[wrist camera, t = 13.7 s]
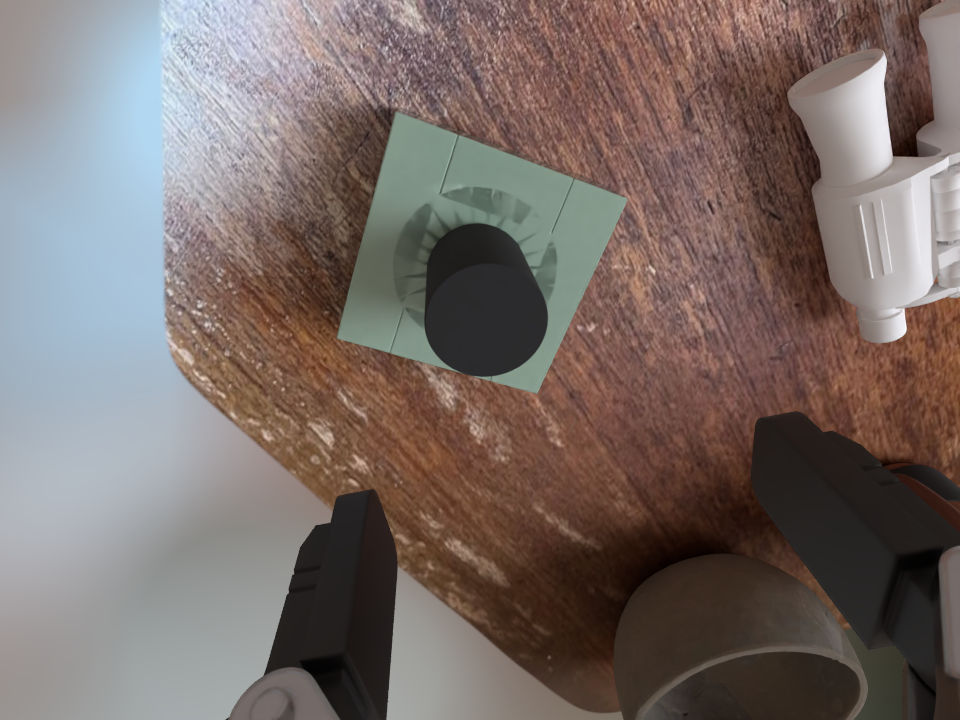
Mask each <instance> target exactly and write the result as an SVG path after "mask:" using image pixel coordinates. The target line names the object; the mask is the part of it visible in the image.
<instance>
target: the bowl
mask: <svg viewBox="0 0 960 720" xmlns="http://www.w3.org/2000/svg"><path fill="white" fill-rule="evenodd" d="M614 675H615V683H616V689H617V694H618V699H619V703H620V708H621V712H622V715H623V719H624V720H853V719H854V718H855V717H856V715H857V714H858V713H859V712H860V710H861V709H862V707H863V705H864V703H865V700H866V697H867V690H868V687H867V681H866V679H865V675H864V672H863V670H862V667H861V664H860V662H859V661H858V658H857V656H856V654H855V652H854V650H853V648H852V646H851V644H850V642H849V640H848V638H847V636H846V634H845V632H844V630H843V629H842V627H841V626H840V625H839V623H838V622H837V621H836V619H835V618H834V616H833V614H832V613H831V612H830V610H829V609H828V608H827V607H826V606H825V604H824V603H823V602H822V601H821V600H820V599H819V598H818V597H817V596H816V594H815V593H814V592H812V591H811V590H810V589H809V588H808V587H806V586H805V585H804V584H802V583H801V582H800V581H799V580H798V579H796V578H795V577H793V576H791V575H789V574H788V573H786V572H784V571H782V570H781V569H779V568H777V567H774V566H772V565H770V564H767V563H765V562H763V561H760V560H757V559H754V558H751V557H747V556H742V555H737V554H710V555H703V556H699V557H694V558H690V559H686V560H683V561H680V562H678V563H675V564H672V565H670V566H668V567H666V568H664V569H662V570H661V571H659V572H657V573H655V574H654V575H652V576H651V577H649V578H648V579H647V580H645V581H644V582H643V583H642V584H641V585H640V586H639V587H638V588H637V589H636V590H635V592H634V593H633V594H632V596H631V597H630V599H629V601H628V602H627V604H626V606H625V609H624V611H623V613H622V615H621V618H620V621H619V624H618V628H617V632H616V637H615V644H614Z"/></svg>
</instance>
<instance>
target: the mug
mask: <svg viewBox="0 0 960 720" xmlns="http://www.w3.org/2000/svg"><path fill="white" fill-rule="evenodd" d="M882 467H886V468H887V469H888V470H890V471H891V472H892V473H893V474H894V475H895V476H896V477H898V478H899V482H900V483H904V484H905V485H907V486H908V487H909V488H910V489H911V490H912V491H913V492H914V493H916V494H917V495H918V496H919V497H920V498H921V499H922V500H923V501H925V502H926V503H927V504H928V505H929V506H930V507H931V508H933V509H934V510H935V511H936V512H937V513H938V514H939V515H940V516H942V517H943V518H944V519H945V520H946V521H947V522H948V523H949V524H951V525H952V526H953V527H954V528H955V529H956V530H957V531H958V532H960V488H959V487H958V486H957V485H955V484H954V483H953V482H952V481H951V480H949V479H948V478H947V477H946V476H944V475H943V474H942V473H940V472H939V471H937V470H936V469H934V468H931V467H928V466H924V465H916V464H911V463H895V464H890V465H885V466H882Z"/></svg>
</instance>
